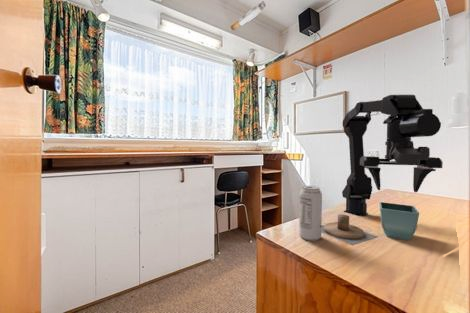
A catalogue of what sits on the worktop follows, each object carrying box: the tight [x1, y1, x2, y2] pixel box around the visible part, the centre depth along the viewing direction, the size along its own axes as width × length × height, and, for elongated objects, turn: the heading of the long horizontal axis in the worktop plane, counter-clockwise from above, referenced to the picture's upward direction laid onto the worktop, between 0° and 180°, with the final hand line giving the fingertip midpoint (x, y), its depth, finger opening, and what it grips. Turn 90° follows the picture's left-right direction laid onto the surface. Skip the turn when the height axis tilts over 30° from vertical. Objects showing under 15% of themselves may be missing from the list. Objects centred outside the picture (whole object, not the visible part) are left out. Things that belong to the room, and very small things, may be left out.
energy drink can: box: [298, 185, 323, 242], centre depth 63 cm, size 6×6×15 cm
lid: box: [323, 213, 365, 239], centre depth 67 cm, size 11×11×5 cm
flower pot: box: [378, 201, 420, 241], centre depth 64 cm, size 9×9×9 cm
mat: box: [321, 221, 379, 246], centre depth 67 cm, size 14×12×1 cm
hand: (396, 191), depth 64 cm, fingers open, 9 cm apart
